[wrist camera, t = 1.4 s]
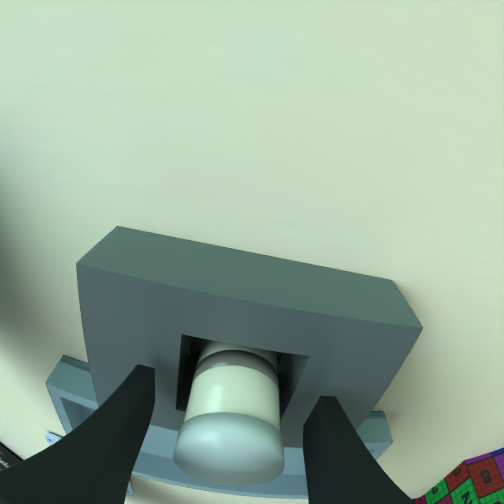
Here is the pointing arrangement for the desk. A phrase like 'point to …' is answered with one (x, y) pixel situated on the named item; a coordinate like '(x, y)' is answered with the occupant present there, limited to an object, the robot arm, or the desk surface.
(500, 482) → the puzzle
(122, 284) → the grey flat frame block
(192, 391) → the fuse
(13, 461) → the headset box
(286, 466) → the parts tray
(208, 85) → the desk surface
